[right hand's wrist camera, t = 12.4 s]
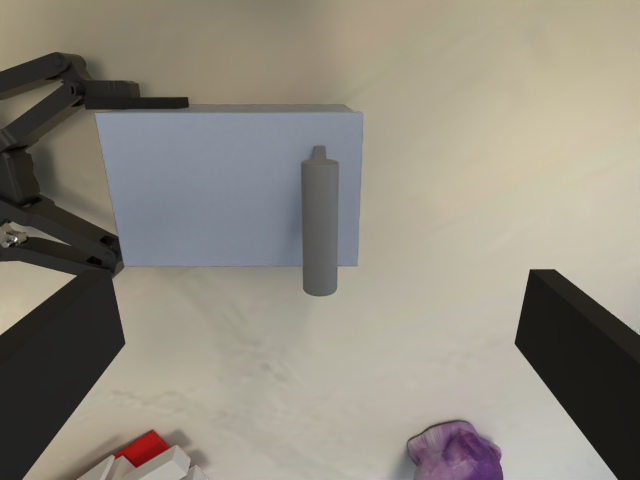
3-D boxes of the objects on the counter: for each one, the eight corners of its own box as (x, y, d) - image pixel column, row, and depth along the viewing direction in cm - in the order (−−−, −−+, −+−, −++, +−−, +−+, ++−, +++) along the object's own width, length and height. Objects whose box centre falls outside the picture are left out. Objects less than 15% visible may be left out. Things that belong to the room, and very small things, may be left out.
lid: (361, 111, 25) (381, 123, 17) (356, 260, 28) (370, 327, 21) (102, 111, 25) (0, 123, 17) (130, 260, 28) (57, 327, 20)
